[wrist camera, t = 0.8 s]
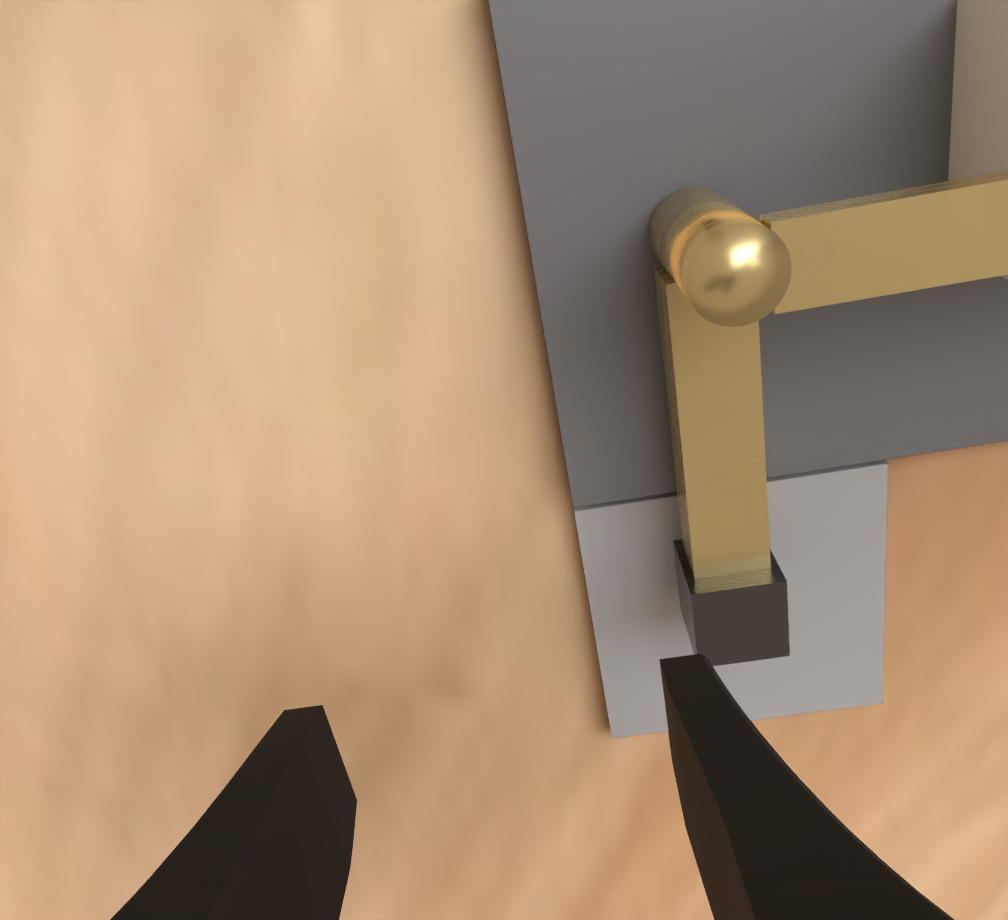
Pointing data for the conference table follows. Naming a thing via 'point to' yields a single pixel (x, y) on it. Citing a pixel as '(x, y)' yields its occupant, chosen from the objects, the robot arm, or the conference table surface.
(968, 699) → the conference table surface
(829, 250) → the l-shaped bracket
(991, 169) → the cream foam cube
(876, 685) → the felt pad
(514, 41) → the base plate
